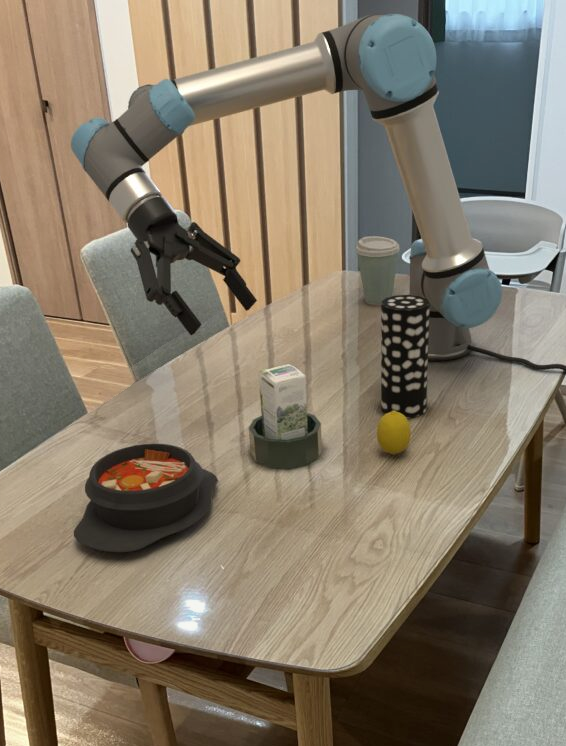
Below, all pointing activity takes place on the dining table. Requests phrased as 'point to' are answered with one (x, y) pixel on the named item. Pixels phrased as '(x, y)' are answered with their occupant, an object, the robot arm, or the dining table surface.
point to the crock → (286, 446)
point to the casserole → (143, 497)
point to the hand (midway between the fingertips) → (225, 317)
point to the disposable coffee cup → (377, 267)
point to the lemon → (393, 432)
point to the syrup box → (283, 402)
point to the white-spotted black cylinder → (404, 354)
